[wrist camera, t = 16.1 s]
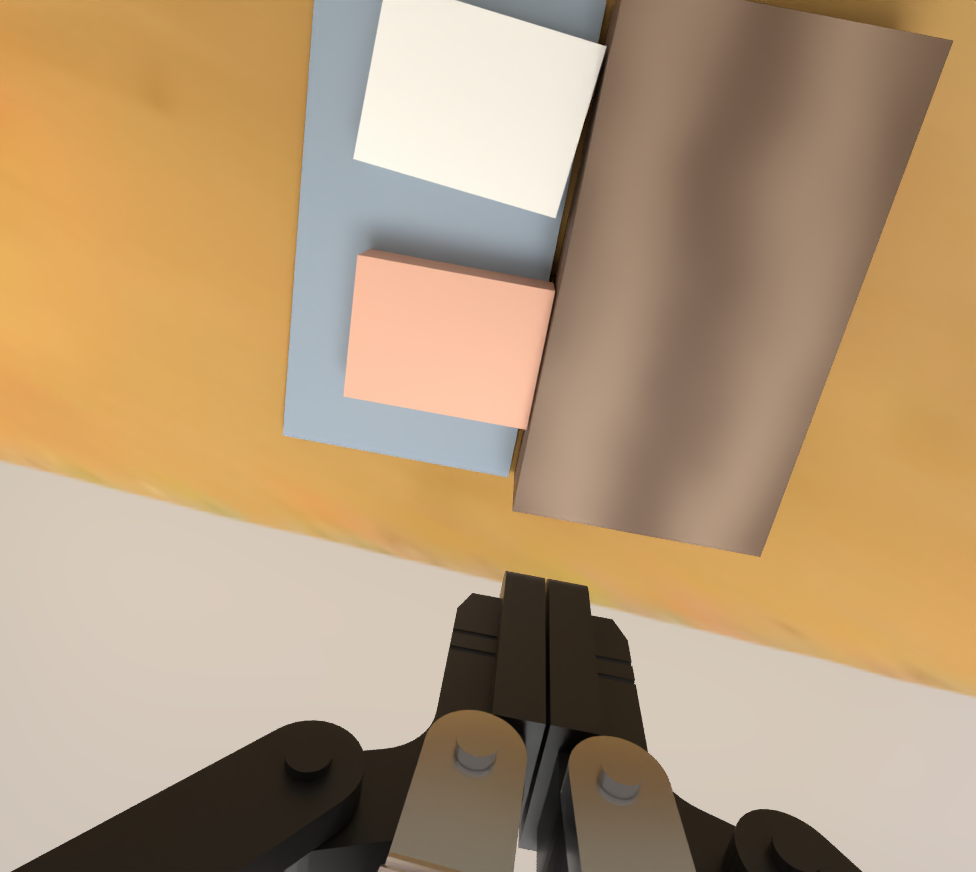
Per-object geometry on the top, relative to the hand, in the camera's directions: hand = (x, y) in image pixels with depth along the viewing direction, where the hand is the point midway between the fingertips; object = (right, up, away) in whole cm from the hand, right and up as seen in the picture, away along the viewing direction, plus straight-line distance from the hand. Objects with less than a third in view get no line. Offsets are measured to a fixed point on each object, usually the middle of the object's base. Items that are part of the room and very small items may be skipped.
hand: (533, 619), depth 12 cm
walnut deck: (+8, +10, +17) cm, 21 cm away
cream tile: (-1, +16, +15) cm, 22 cm away
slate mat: (-4, +12, +17) cm, 21 cm away
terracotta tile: (-2, +8, +18) cm, 20 cm away
